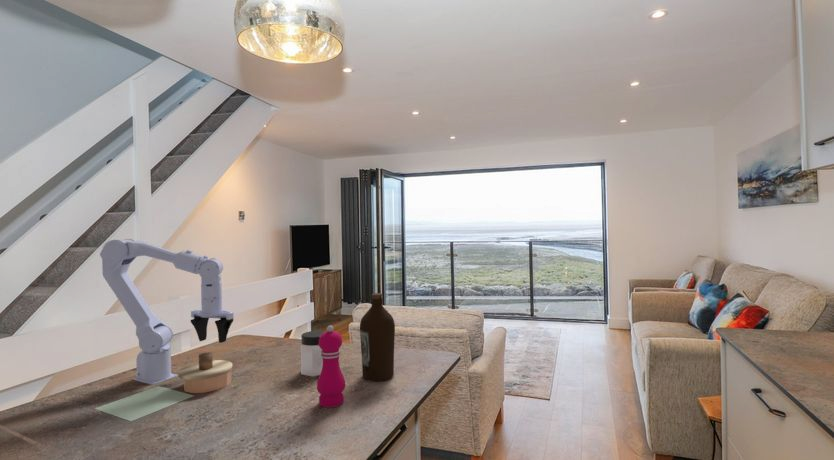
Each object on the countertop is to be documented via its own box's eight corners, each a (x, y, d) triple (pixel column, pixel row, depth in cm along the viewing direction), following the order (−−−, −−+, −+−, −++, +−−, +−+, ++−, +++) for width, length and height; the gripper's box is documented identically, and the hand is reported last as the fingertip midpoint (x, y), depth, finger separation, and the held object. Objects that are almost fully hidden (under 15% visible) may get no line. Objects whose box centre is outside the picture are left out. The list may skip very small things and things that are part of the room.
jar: (305, 378, 124) (304, 339, 123) (297, 371, 130) (296, 333, 130) (333, 372, 128) (333, 334, 128) (324, 365, 135) (323, 329, 135)
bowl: (174, 389, 117) (174, 374, 116) (212, 375, 127) (212, 361, 127) (202, 397, 111) (202, 380, 111) (239, 381, 122) (239, 366, 122)
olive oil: (389, 367, 132) (387, 290, 132) (400, 379, 122) (399, 295, 122) (356, 373, 128) (355, 292, 127) (366, 385, 118) (364, 298, 118)
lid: (166, 375, 116) (166, 358, 115) (210, 360, 128) (210, 345, 128) (200, 383, 109) (199, 365, 109) (243, 366, 122) (242, 350, 122)
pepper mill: (350, 398, 109) (349, 323, 109) (336, 410, 102) (335, 329, 102) (326, 395, 111) (325, 321, 111) (311, 406, 104) (310, 327, 104)
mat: (94, 410, 104) (94, 408, 104) (158, 387, 118) (158, 386, 118) (131, 423, 97) (131, 421, 97) (194, 397, 111) (194, 395, 111)
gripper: (182, 299, 127) (183, 343, 127) (221, 300, 122) (222, 346, 123) (200, 295, 133) (201, 337, 133) (237, 296, 129) (238, 340, 129)
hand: (212, 341), depth 128 cm, fingers open, 7 cm apart
